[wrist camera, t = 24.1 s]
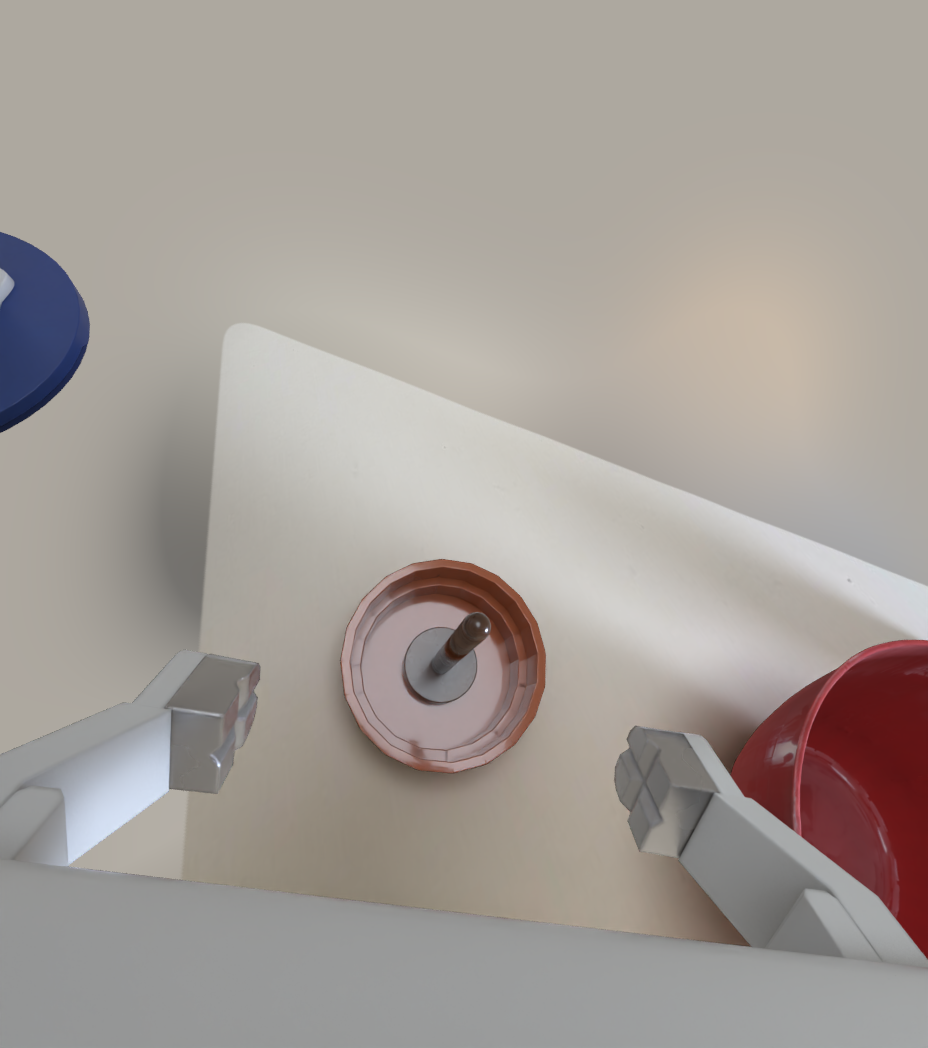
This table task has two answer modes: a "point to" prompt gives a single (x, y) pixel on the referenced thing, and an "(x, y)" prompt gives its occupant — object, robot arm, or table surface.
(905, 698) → the mixing bowl
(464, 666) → the masher
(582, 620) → the table surface
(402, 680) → the bowl
